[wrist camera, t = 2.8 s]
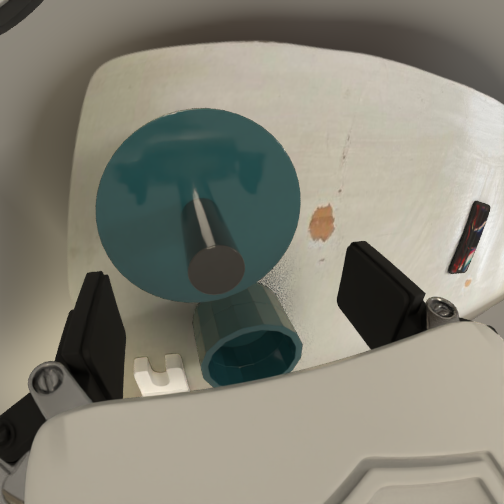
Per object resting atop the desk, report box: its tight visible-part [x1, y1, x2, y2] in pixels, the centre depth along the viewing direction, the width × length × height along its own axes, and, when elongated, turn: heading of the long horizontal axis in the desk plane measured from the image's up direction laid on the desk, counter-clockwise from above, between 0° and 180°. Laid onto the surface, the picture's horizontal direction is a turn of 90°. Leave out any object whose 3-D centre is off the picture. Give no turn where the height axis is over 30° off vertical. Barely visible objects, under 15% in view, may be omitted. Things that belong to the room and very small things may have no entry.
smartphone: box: [449, 201, 490, 274], centre depth 45 cm, size 7×1×15 cm
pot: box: [193, 282, 303, 388], centre depth 35 cm, size 12×12×8 cm
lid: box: [96, 108, 300, 303], centre depth 15 cm, size 13×13×6 cm
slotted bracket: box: [134, 354, 190, 397], centre depth 38 cm, size 13×7×8 cm, turn 0°
